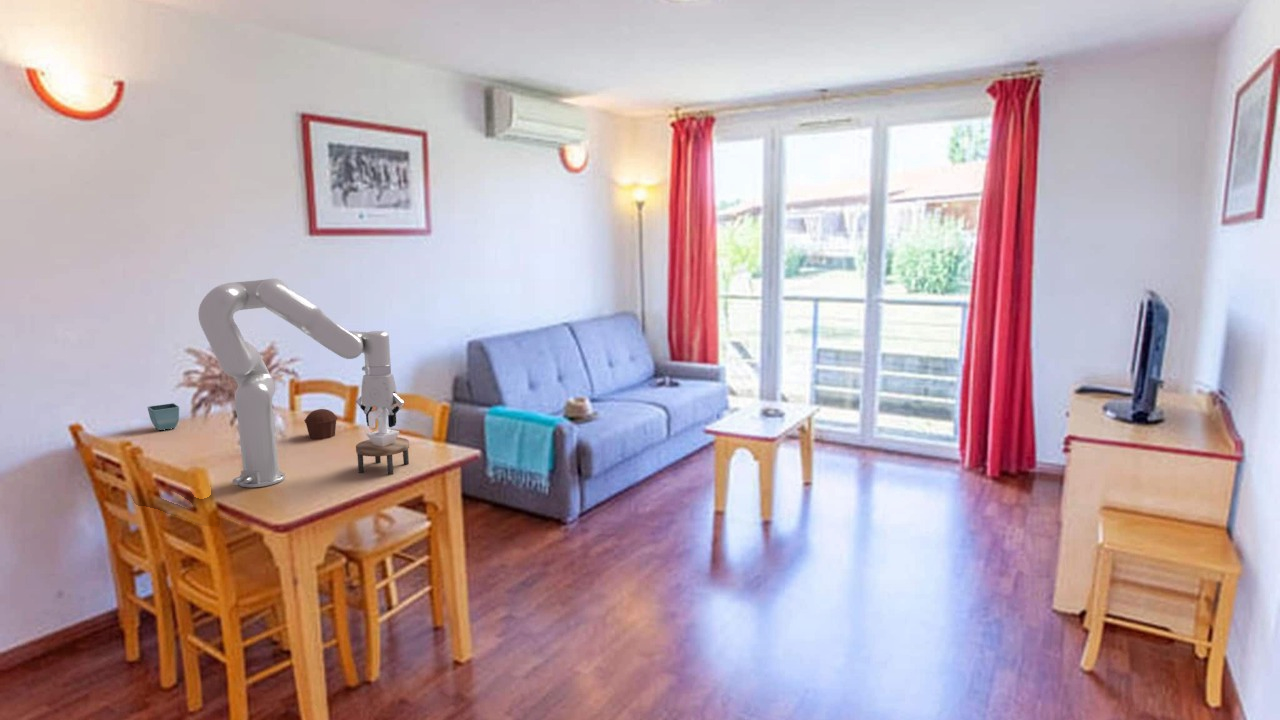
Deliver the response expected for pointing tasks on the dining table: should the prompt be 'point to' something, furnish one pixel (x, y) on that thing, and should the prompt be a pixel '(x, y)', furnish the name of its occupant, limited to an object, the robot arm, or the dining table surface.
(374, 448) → the walnut stool
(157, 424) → the flower pot
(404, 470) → the dining table surface
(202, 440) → the dining table surface
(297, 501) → the dining table surface
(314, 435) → the muffin
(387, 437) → the figurine
